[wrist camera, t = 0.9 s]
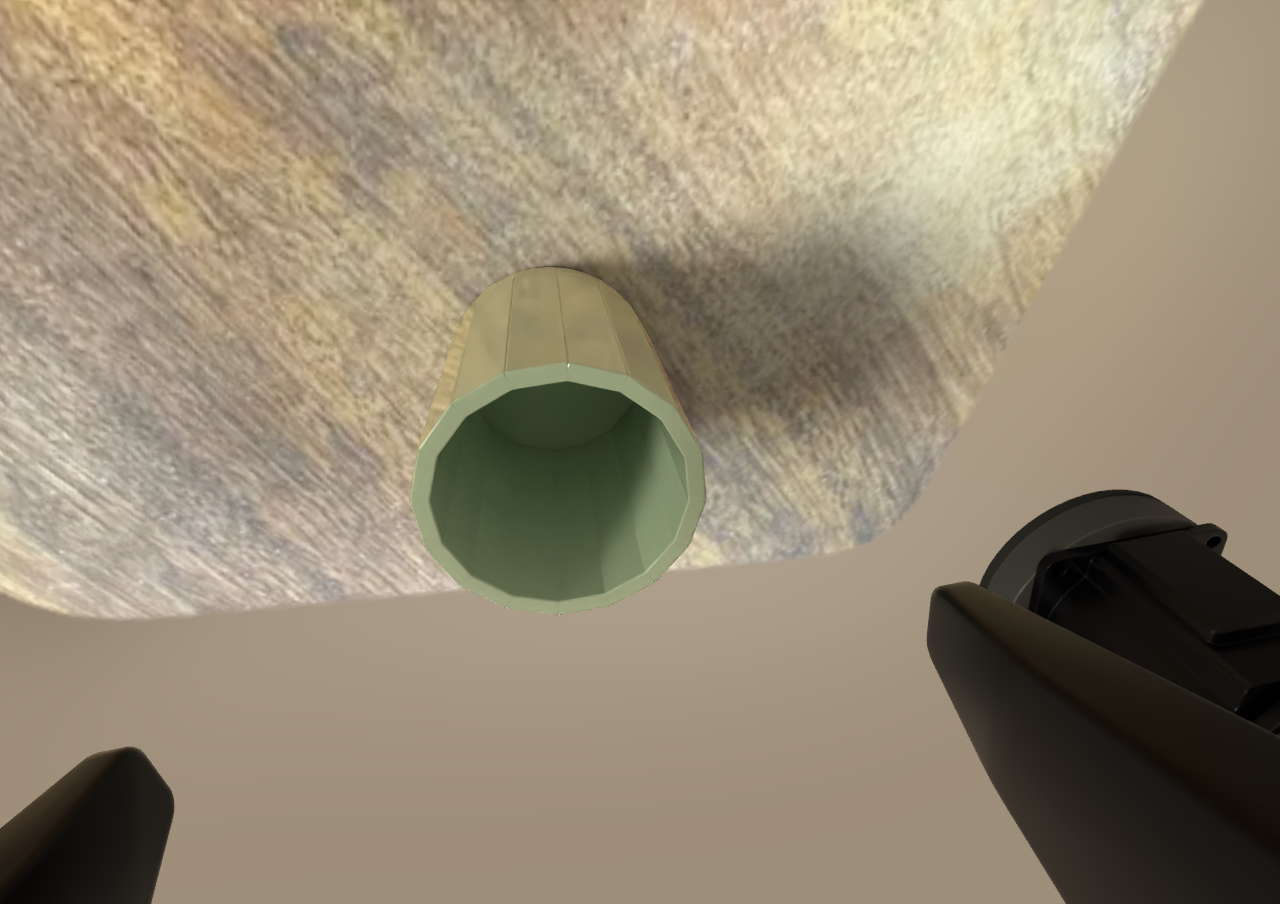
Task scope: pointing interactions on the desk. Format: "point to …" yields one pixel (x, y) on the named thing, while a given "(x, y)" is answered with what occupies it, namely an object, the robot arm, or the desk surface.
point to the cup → (555, 450)
